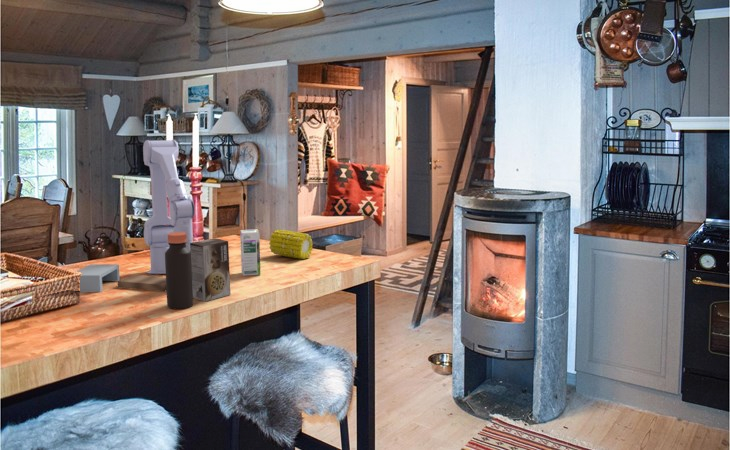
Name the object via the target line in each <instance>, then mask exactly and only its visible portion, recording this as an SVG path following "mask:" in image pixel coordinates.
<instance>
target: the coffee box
mask: <svg viewBox="0 0 730 450" xmlns="http://www.w3.org/2000/svg"><path fill="white" fill-rule="evenodd" d="M190 251H191V264H192V289H193V299H197V300H200V301H203V302H208V301H212V300H216V299H219V298H224V297H227V296H230V295H231V276H230V275H231V274H230V252H229V241H228V240H224V239H221V238H216V237H215V238H209V239H205V240H198V241H193V243H190Z"/></svg>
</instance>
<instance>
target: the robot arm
mask: <svg viewBox="0 0 730 450" xmlns="http://www.w3.org/2000/svg"><path fill="white" fill-rule="evenodd" d="M142 152H143V153H142V155H143V162H144V165H145V166H147V167H149V171H150V188H151V189H150V190H151V208H152V209H151V211H152V216H151V217H149V218H148V219H147V220H146V221H145V222H144V224H143V225H144V227H143V240H144V242H145V244H146V245H147V246H149V256H150V257H149V258H150V269H149V270H148V271H147V272H146V274H147V275H148V274H150V275H151V274H153V275H157V274H158V275H159V274H160V275H166V269H165V252H166V251H167V250H168V249H169V244H168V234H170V233H177V232H181V233H186V234H187V243H186V247H187V248H188V249H189V250H190V243H193V242H194V235H193V234H194V233H193V219H194V217H195V215H196V214H195V213H196V208H195V203H194V200H193V198H191V196H188V192H187V190H186V186H185V182H184V181H183V180H181V178H179V172H178V168H177V164H176V162H178V161H177V160H178V157H179V153H180V149H179V143H178V142H177V140H176V139H171V140H170V139H169V140H160V139H159V140H149V139H147V140H145V141H144V142H143V146H142ZM168 202H169V206H168Z"/></svg>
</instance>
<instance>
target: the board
mask: <svg viewBox="0 0 730 450" xmlns="http://www.w3.org/2000/svg"><path fill="white" fill-rule="evenodd" d="M116 283H117V288H119V289H120V288H121V289H129V288H132V289H134V290H141V289H143V291H152V292H154V291H155V292H167V290H166V276H165V277H164V276H163V277H162V276H151V275H149V276H148V275H138V274H137V275H136V274H133V275H130V276H127V277H124V278H123V279H120V280H119V281H116Z"/></svg>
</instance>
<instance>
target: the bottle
mask: <svg viewBox="0 0 730 450" xmlns="http://www.w3.org/2000/svg"><path fill="white" fill-rule="evenodd" d="M186 243H187V234H186V233H181V232H177V233H170V234H168V244H169V249H168V250H167V251H166V252H165V269H166V274H165V278H166V290H167V291H166V306H167V307H168V308H169V309H171V310H184V309H189V308H191V307H192V306H193V305H194V298H193V289H192V264H191V251H190V250H189V249H188V248H187V247H186Z"/></svg>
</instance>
